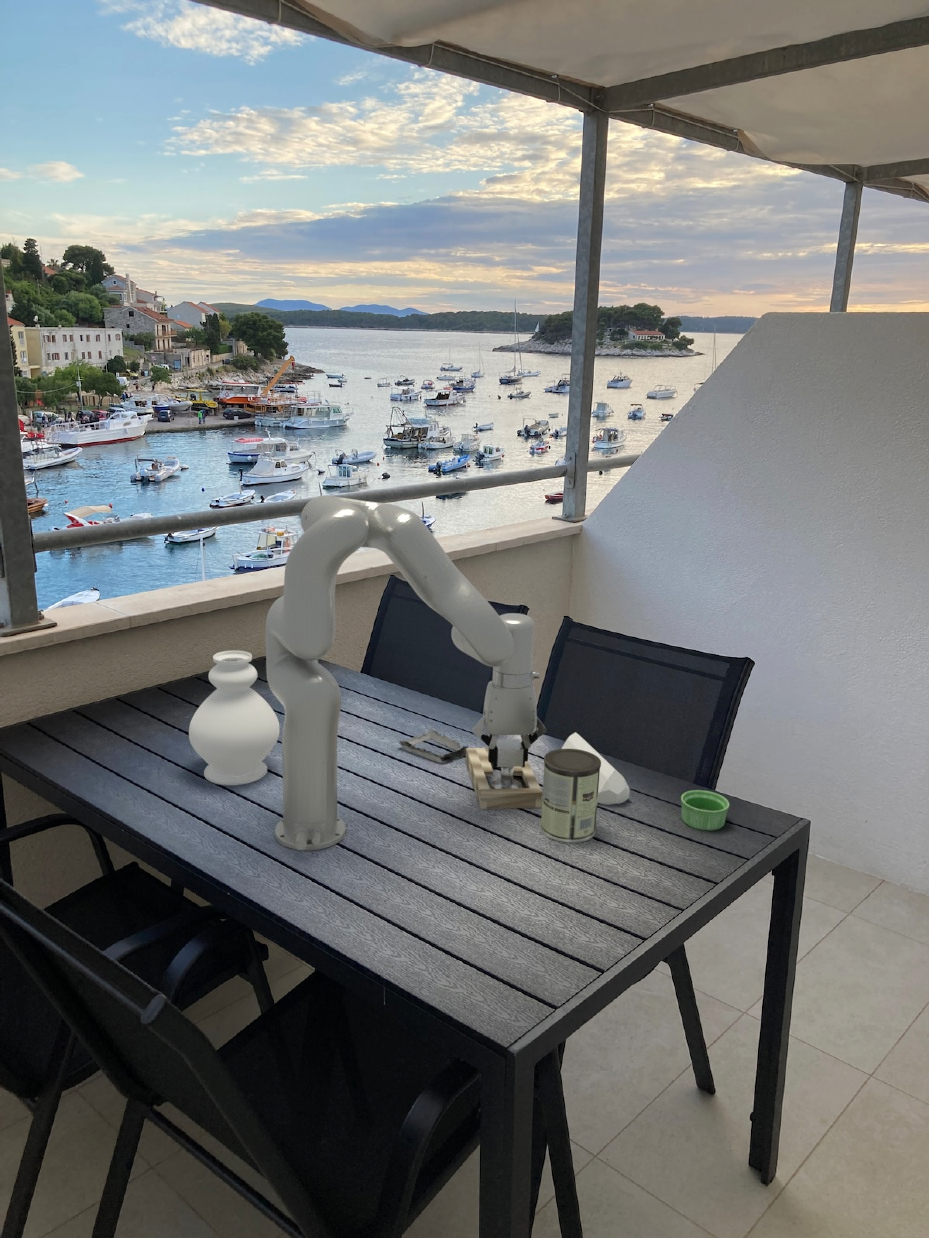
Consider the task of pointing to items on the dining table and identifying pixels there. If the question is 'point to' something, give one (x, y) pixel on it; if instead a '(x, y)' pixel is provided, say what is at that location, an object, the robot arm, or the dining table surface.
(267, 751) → the decorative vase
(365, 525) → the robot arm
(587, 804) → the coffee can
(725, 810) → the ramekin
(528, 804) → the keyhole plate
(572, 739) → the crystal
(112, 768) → the dining table surface
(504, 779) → the keyhole peg
